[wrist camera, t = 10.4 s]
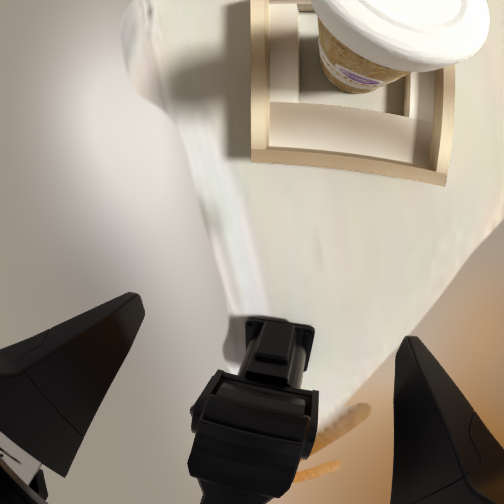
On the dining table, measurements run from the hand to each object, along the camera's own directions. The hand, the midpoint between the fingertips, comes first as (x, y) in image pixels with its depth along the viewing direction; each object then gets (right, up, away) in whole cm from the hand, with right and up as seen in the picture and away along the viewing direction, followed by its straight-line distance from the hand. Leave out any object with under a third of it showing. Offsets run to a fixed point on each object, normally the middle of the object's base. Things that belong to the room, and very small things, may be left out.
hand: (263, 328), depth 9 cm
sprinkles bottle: (+6, +15, +6) cm, 17 cm away
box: (+6, +14, +6) cm, 16 cm away
